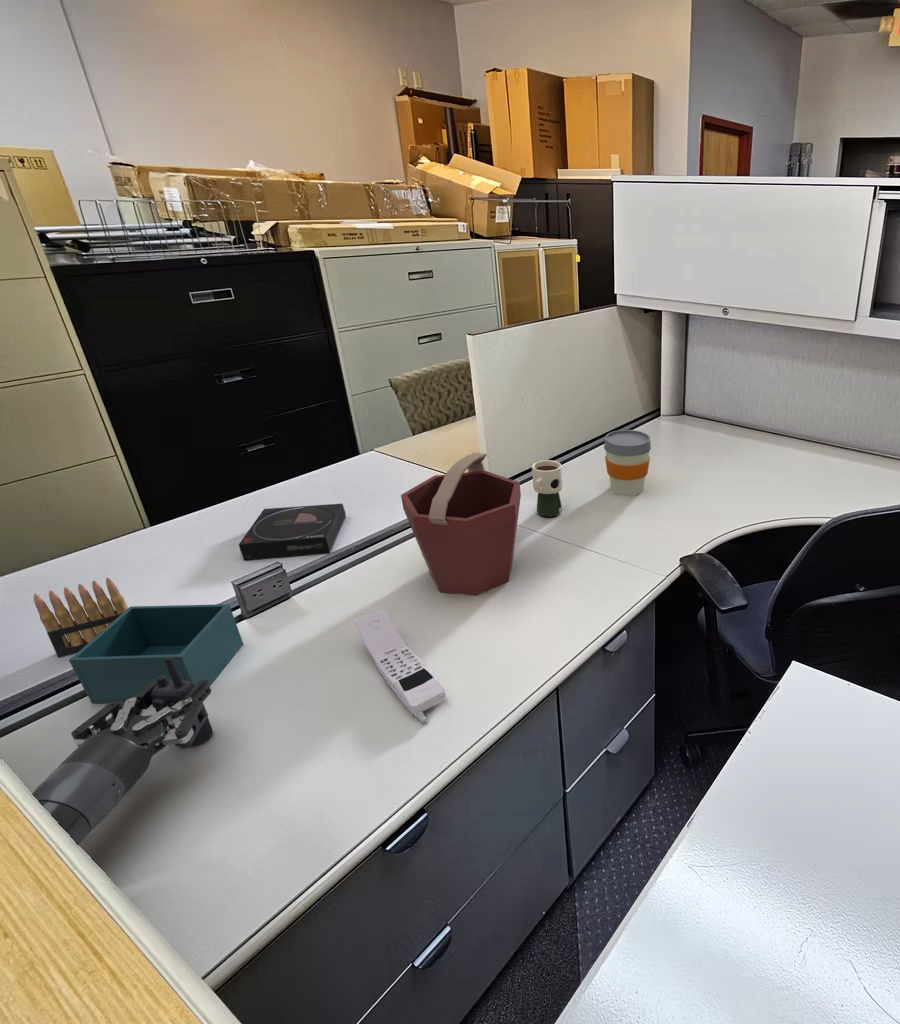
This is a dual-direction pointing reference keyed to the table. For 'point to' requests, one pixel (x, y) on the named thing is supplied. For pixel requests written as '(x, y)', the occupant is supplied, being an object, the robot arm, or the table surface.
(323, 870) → the table surface
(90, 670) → the bin
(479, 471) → the bucket
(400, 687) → the mobile phone
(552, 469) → the character mug
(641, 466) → the reusable coffee cup
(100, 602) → the ammunition clip
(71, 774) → the robot arm
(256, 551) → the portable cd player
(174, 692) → the two-way radio
